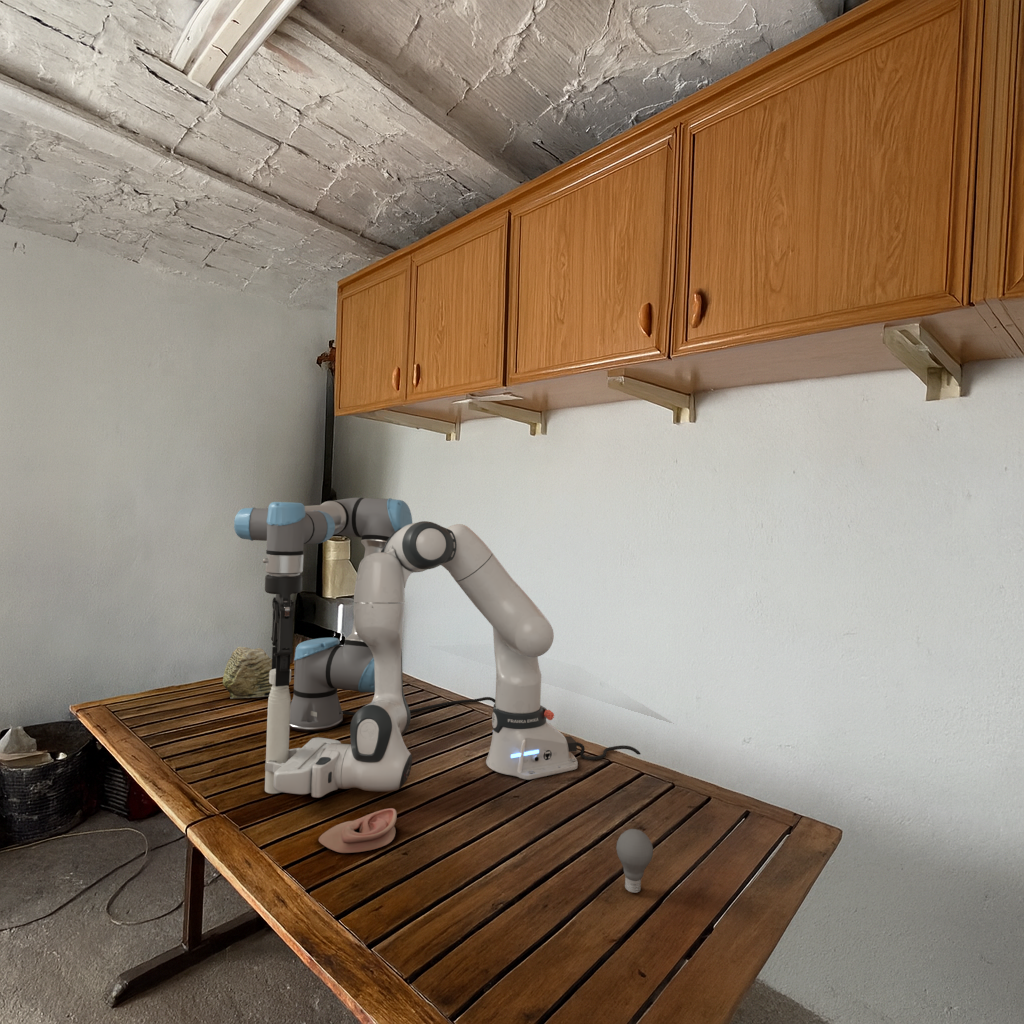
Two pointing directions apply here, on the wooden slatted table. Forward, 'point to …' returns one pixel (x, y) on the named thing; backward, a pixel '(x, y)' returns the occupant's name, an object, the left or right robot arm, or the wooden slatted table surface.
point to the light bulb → (634, 857)
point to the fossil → (248, 673)
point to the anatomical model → (362, 833)
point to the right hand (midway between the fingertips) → (273, 759)
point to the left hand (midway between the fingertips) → (280, 680)
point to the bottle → (277, 731)
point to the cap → (273, 676)
